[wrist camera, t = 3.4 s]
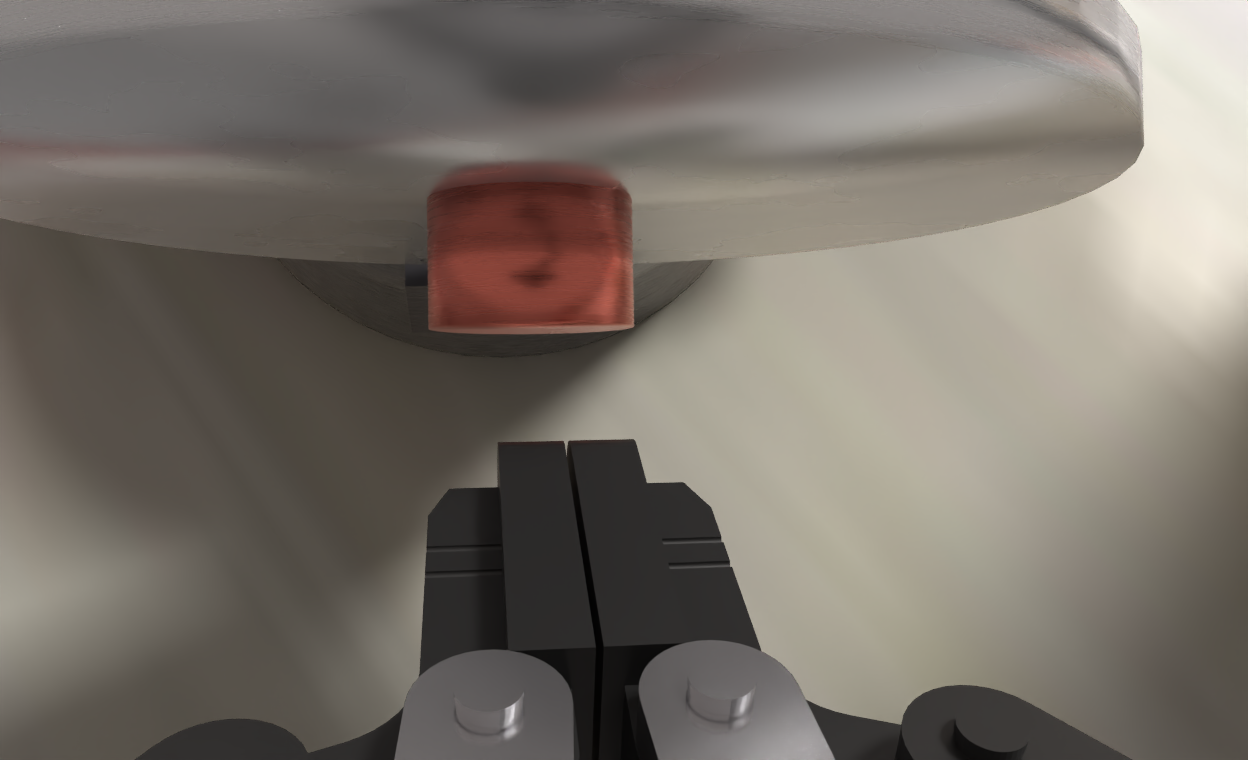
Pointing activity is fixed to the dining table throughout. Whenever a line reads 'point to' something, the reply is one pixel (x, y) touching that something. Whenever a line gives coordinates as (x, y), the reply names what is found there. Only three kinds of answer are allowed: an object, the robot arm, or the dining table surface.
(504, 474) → the robot arm
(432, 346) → the cooker pot
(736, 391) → the dining table surface
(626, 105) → the lid
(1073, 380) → the dining table surface
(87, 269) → the dining table surface
